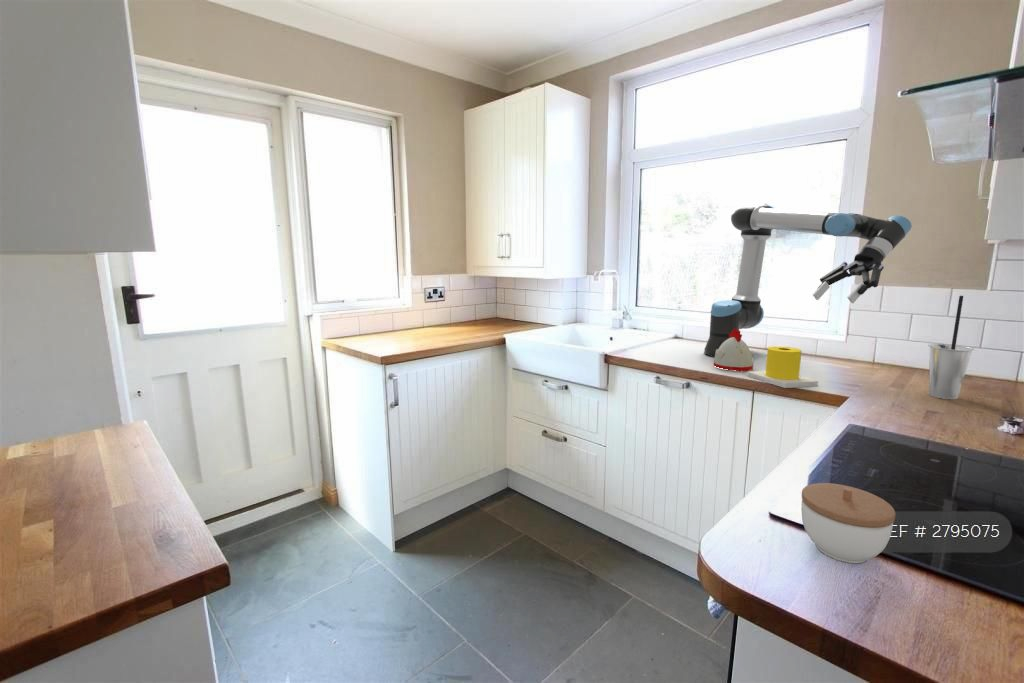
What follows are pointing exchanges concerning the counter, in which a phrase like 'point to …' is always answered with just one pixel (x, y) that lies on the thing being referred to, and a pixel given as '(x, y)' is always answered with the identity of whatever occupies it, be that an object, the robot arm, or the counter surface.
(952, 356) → the cup with straw
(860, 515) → the lidded jar
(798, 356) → the tape roll
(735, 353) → the kitchen timer
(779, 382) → the marked board
